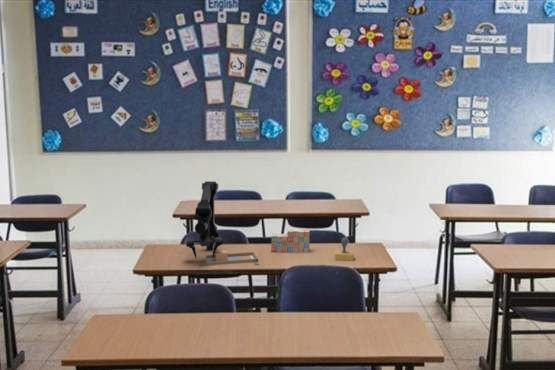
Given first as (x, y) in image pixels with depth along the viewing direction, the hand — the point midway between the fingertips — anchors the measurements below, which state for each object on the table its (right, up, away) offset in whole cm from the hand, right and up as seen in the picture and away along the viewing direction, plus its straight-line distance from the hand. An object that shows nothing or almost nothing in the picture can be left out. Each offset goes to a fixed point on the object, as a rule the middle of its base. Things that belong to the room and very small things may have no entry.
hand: (204, 257), depth 331 cm
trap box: (+14, -3, +2) cm, 15 cm away
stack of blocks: (+46, +1, +23) cm, 51 cm away
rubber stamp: (+74, -2, +7) cm, 75 cm away
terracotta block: (+9, -1, +2) cm, 9 cm away
